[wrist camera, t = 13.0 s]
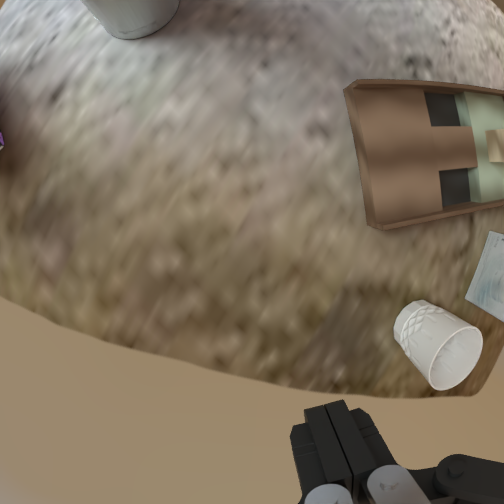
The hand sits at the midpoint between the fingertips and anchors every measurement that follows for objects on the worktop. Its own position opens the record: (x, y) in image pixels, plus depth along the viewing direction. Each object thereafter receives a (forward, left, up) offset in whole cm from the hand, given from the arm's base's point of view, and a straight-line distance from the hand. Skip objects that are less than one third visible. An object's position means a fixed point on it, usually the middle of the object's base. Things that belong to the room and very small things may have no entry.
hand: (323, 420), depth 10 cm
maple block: (-10, +32, -20) cm, 40 cm away
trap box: (-10, +24, -23) cm, 35 cm away
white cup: (+12, +18, -23) cm, 32 cm away
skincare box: (+8, +32, -23) cm, 40 cm away
